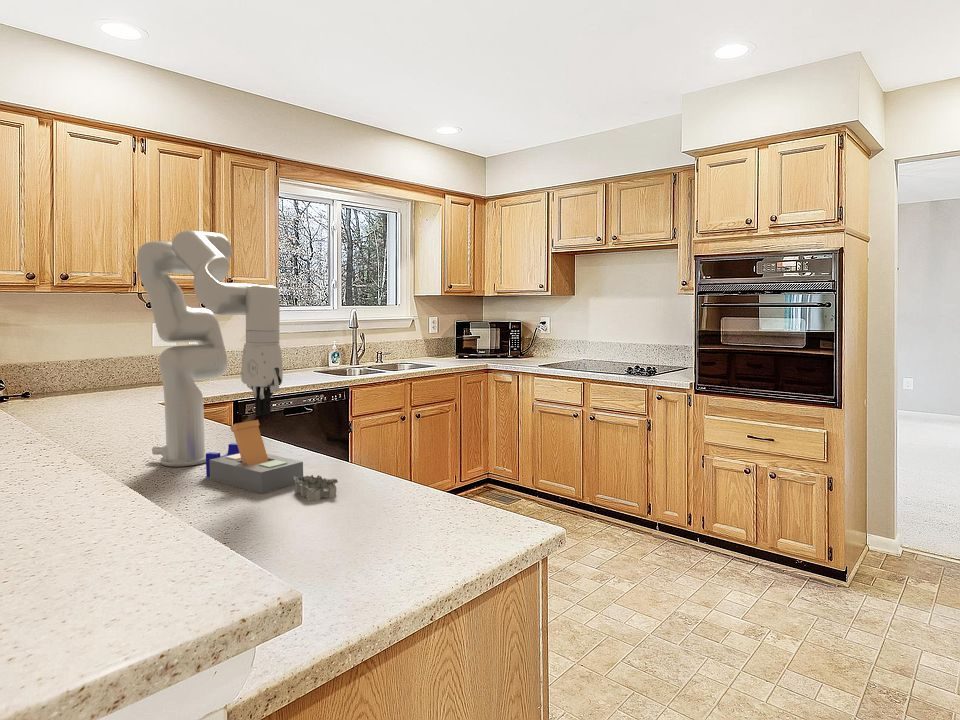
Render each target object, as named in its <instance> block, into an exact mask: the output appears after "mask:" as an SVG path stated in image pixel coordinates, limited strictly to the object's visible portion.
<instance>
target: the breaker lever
mask: <svg viewBox="0 0 960 720" xmlns="http://www.w3.org/2000/svg"><path fill="white" fill-rule="evenodd" d="M260 425H261V424H260V422H259V419H256V420H255V419H254V420H249V421H244V422H238V423H237V422H236V423H234V424H232V425H231V426H230V431H231V433H233V435H234V438H235V442H236V443H237V446H238V449H239V452H240V456H241V459H242V463H244V464H248V465H255V464H260V463H264V462H268V461H269V460H268V457H267V454H268V453H267V451H266V447H265V444H264V441H263V440H264V439H263V438H262V435H261V430H260V428H259V426H260Z"/></svg>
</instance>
